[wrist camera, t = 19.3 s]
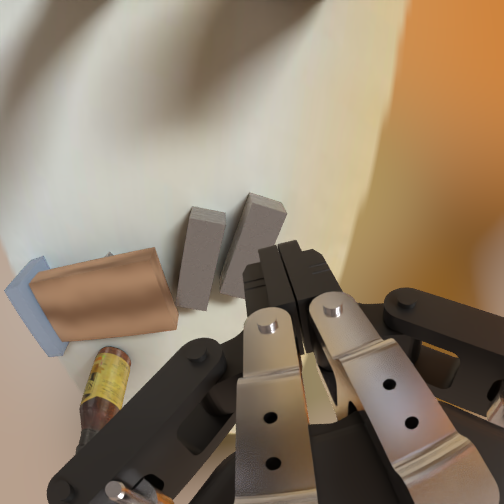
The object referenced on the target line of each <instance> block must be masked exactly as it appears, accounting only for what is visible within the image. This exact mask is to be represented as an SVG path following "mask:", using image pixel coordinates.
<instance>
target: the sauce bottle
mask: <svg viewBox="0 0 504 504" xmlns="http://www.w3.org/2000/svg"><path fill="white" fill-rule="evenodd" d="M130 366H131V361H130V358H129V357H128V355H127V354H126V353H125V352H123V351H122V350H120V349H118V348H114V347H104V348H102V349H101V350H100V351H99V353H98V355H97V356H96V359H95V361H94V364H93V367H92V370H91V373H90V376H89V379H88V382H87V385H86V388H85V391H84V395H83V398H82V401H81V405H80V416H81V427H82V431H81V437H80V441H79V445H78V446H77V448H76V454H77V453H78V452H79V451H80V450H81V449H82V448H83V447H84V446H85V445H86V444H87V443H88V442H89V441H90V440H91V439H92V438H93V437H94V436H95V435H96V434H97V433H98V432H99V431H100V430H101V429H102V428H103V427H104V426H105V425H106V424H107V423H108V422H109V421H110V420H111V419H112V418H113V417H114V416H115V415H116V414H117V413H118V412H119V411H120V410H121V408H122V403H123V399H124V394H125V390H126V385H127V381H128V377H129V373H130Z"/></svg>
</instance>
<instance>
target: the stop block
mask: <svg viewBox="0 0 504 504" xmlns="http://www.w3.org/2000/svg"><path fill="white" fill-rule="evenodd" d="M49 269H50V268H49V266H48V264H47V262H46V260H45V258H44V256H42V257H39V258H36V259H33V260H31V261H30V262H29V263H28V264H27V265H26V266H25V267H24V268H23V269H22V270H21V272H20V273H19V274H18V275H17V276H16V277H15V278H14V279H13V281H12V282H11V283H10V284H9V285H8V287H7V288H6V289H5V290H4V291H5V293H6V295H7V296H8V298H9V299H10V301H11V303H12V305H13V306H14V308H15V309H16V311H17V313H18V314H19V316H20V317H21V319H22V320H23V322H24V323H25V325H26V326H27V327H28V329H29V330H30V332H31V333H32V335H33V336H34V338H35V339H36V340H37V342H38V343H39V345H40V346H41V347H42V349H43V350H44V351H45V353H46V354H47V355H48V357H54V356H63V354H64V352H65V349H66V347H67V345H68V343H69V341H68V342H62V341H61V340H60V338H59V337H58V335H57V333H56V332H55V330H54V329H53V327H52V325H51V324H50V322H49V320H48V319H47V317H46V315H45V314H44V312H43V310H42V308H41V307H40V305H39V303H38V301H37V299H36V298H35V296H34V294H33V292H32V290H31V288H30V286H29V283H30V282H31V280H32V279H33V278H34V277H35V275H36V274H37V273H38V272H41V271H45V270H49Z"/></svg>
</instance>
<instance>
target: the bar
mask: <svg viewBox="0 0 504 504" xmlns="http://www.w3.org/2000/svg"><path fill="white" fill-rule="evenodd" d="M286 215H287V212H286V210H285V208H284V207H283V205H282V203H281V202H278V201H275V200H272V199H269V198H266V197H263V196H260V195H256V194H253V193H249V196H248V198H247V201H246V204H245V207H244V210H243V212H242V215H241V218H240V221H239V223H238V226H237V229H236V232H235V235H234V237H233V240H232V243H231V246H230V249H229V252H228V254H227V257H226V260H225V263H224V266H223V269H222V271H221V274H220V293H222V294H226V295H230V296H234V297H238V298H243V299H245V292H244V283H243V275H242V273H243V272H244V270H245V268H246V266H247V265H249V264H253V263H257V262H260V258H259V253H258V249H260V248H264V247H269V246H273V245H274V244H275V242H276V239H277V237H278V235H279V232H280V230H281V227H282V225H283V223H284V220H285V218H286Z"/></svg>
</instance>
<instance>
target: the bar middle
mask: <svg viewBox="0 0 504 504" xmlns="http://www.w3.org/2000/svg"><path fill="white" fill-rule="evenodd" d="M225 226H226V215H225V213H224V212H219V211H214V210H209V209H204V208H199V207H193V206H192V210H191V214H190V218H189V223H188V228H187V234H186V240H185V246H184V251H183V258H182V264H181V270H180V277H179V283H178V290H177V297H176V304H175V306H179V307H185V308H190V309H196V310H202V311H206V310H207V306H208V301H209V296H210V292H211V287H212V283H213V278H214V274H215V269H216V265H217V260H218V256H219V252H220V247H221V243H222V239H223V234H224V230H225Z"/></svg>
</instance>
